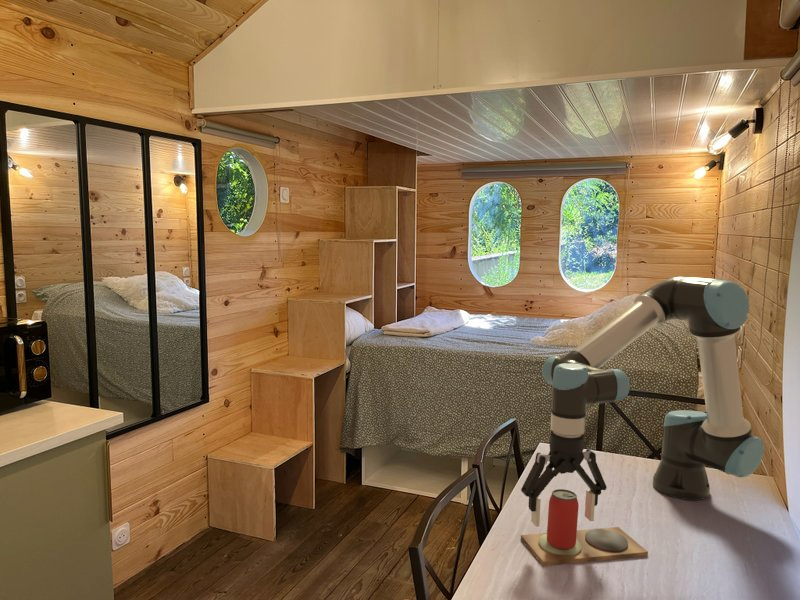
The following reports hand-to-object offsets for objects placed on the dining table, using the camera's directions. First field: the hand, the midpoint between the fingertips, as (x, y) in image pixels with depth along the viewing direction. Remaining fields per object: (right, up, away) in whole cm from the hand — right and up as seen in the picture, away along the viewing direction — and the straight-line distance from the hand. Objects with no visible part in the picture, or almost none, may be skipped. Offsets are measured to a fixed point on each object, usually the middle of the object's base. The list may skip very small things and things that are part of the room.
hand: (562, 521), depth 141 cm
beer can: (0, -5, 0) cm, 5 cm away
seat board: (+5, -7, +2) cm, 9 cm away
